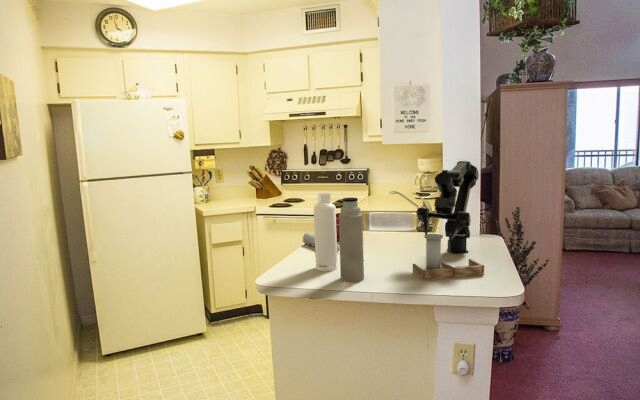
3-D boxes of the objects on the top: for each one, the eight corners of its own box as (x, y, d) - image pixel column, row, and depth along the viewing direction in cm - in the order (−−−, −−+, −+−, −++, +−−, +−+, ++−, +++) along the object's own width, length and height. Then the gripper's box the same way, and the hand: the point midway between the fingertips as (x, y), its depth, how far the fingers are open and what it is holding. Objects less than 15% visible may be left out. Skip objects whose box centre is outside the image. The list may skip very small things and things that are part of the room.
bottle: (312, 266, 167) (309, 193, 163) (332, 263, 171) (329, 191, 167) (321, 272, 160) (318, 195, 156) (341, 269, 163) (338, 193, 159)
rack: (470, 267, 160) (470, 258, 159) (483, 274, 151) (484, 265, 150) (412, 272, 156) (412, 263, 155) (422, 280, 147) (422, 270, 147)
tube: (343, 244, 186) (313, 233, 207) (333, 242, 183) (304, 231, 204) (340, 256, 185) (311, 244, 207) (329, 254, 183) (301, 242, 204)
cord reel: (433, 268, 156) (433, 233, 154) (446, 273, 151) (446, 236, 149) (420, 272, 153) (420, 235, 151) (433, 276, 148) (433, 238, 146)
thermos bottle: (344, 274, 157) (341, 196, 153) (366, 276, 154) (364, 196, 150) (337, 281, 149) (335, 199, 145) (360, 283, 147) (358, 199, 143)
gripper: (418, 186, 163) (408, 222, 156) (471, 190, 155) (463, 229, 148) (423, 202, 172) (414, 237, 165) (473, 207, 163) (466, 244, 156)
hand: (438, 236), depth 158 cm, fingers open, 9 cm apart
